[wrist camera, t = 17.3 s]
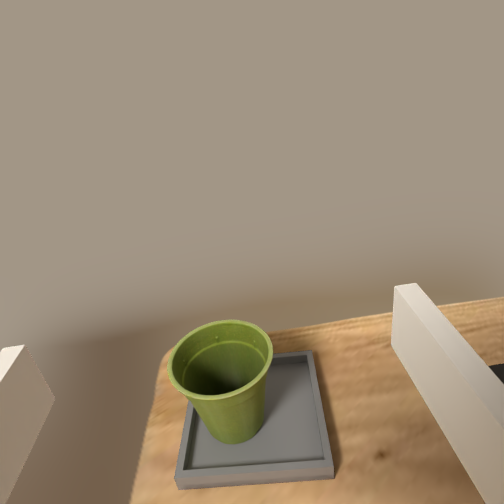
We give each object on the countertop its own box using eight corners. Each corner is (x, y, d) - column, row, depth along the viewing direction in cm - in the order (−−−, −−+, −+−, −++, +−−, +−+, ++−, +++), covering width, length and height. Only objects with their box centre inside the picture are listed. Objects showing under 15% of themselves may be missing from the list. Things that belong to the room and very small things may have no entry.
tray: (198, 371, 56) (195, 361, 55) (312, 361, 55) (311, 350, 54) (178, 489, 41) (174, 478, 40) (334, 478, 40) (333, 466, 39)
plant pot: (174, 414, 49) (151, 350, 43) (249, 369, 54) (237, 307, 48) (217, 489, 40) (195, 419, 34) (302, 426, 45) (295, 357, 39)
